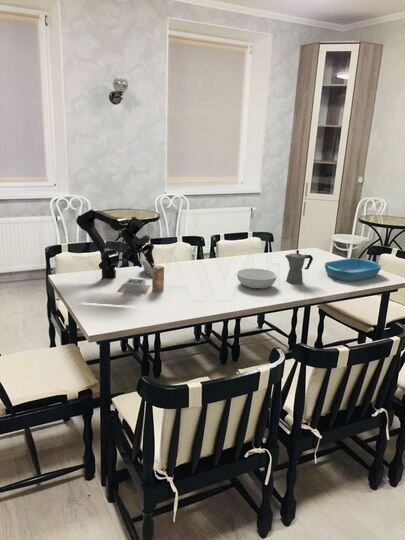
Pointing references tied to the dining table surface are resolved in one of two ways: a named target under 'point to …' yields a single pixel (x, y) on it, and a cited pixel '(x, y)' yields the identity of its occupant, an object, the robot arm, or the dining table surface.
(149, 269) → the grey napkin holder
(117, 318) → the dining table surface
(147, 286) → the walnut board
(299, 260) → the coffeepot
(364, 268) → the casserole dish
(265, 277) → the serving bowl
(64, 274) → the dining table surface
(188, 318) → the dining table surface
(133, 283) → the steel end cap
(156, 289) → the oak block
